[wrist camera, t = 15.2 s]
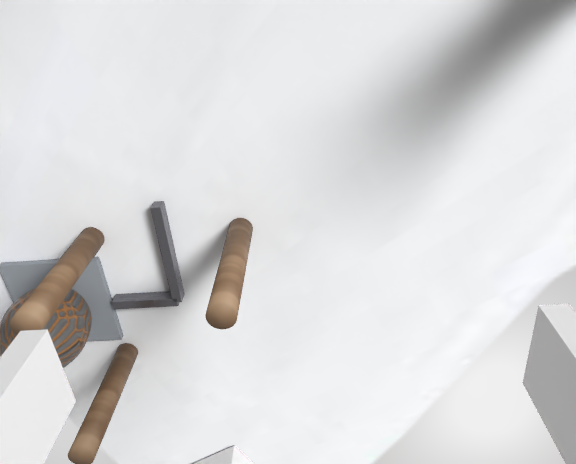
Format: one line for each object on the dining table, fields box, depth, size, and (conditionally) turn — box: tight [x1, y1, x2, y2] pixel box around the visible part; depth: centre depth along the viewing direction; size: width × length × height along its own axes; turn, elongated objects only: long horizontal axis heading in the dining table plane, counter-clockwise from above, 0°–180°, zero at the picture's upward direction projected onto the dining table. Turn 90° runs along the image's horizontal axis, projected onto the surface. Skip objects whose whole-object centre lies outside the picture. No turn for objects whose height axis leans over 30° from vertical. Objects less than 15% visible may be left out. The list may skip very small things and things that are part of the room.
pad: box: [0, 257, 123, 341], centre depth 46 cm, size 9×9×1 cm
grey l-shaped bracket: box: [112, 201, 184, 309], centre depth 43 cm, size 10×6×1 cm, turn 5°
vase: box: [0, 288, 92, 368], centre depth 42 cm, size 7×7×9 cm
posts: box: [10, 218, 253, 464], centre depth 40 cm, size 15×15×12 cm
